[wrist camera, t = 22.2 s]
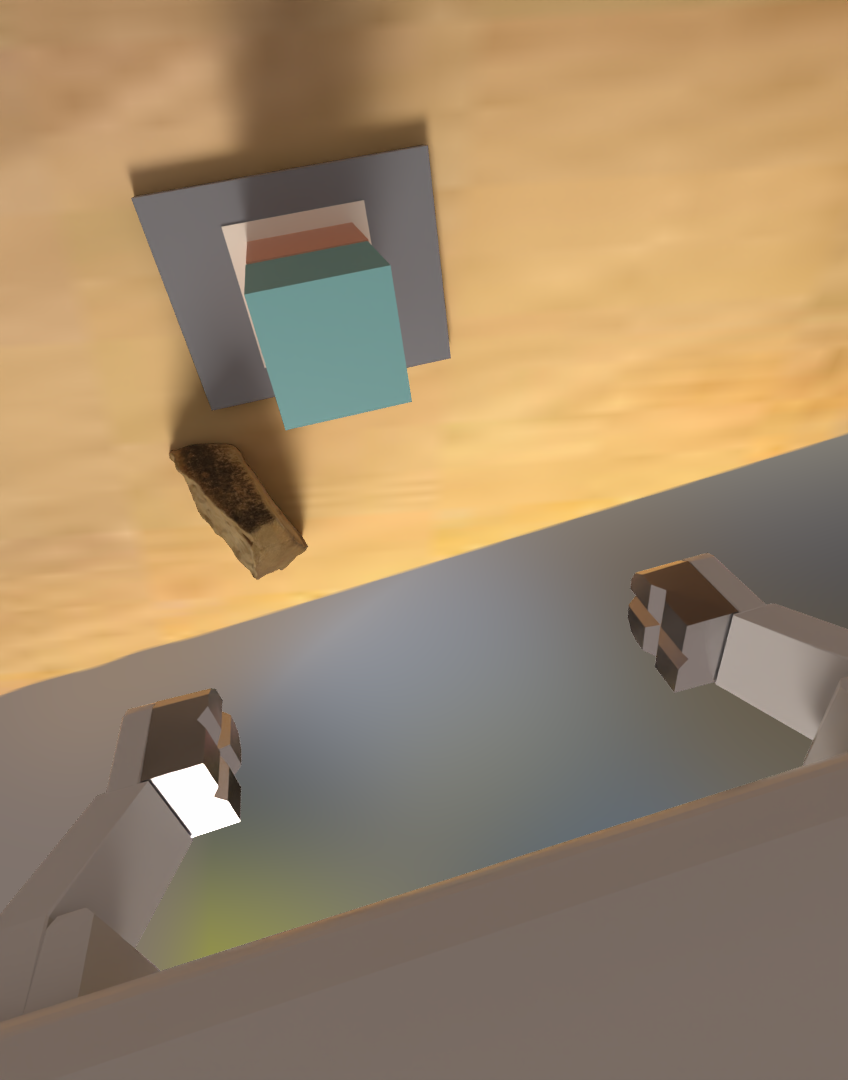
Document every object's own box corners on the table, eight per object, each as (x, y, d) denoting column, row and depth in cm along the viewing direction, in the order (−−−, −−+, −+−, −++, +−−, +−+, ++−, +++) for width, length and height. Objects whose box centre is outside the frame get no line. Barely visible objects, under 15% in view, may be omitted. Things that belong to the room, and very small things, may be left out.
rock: (344, 562, 46) (336, 456, 39) (281, 643, 40) (259, 535, 33) (229, 521, 49) (203, 415, 42) (155, 590, 43) (110, 481, 36)
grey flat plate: (423, 144, 33) (428, 145, 32) (446, 353, 40) (450, 358, 39) (134, 196, 31) (131, 198, 30) (212, 404, 39) (211, 411, 38)
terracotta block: (351, 222, 33) (368, 239, 29) (371, 328, 37) (388, 359, 32) (246, 241, 33) (245, 262, 28) (276, 347, 36) (280, 382, 32)
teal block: (367, 241, 29) (390, 265, 24) (388, 360, 32) (411, 401, 28) (245, 264, 28) (244, 294, 23) (280, 383, 32) (285, 430, 27)
